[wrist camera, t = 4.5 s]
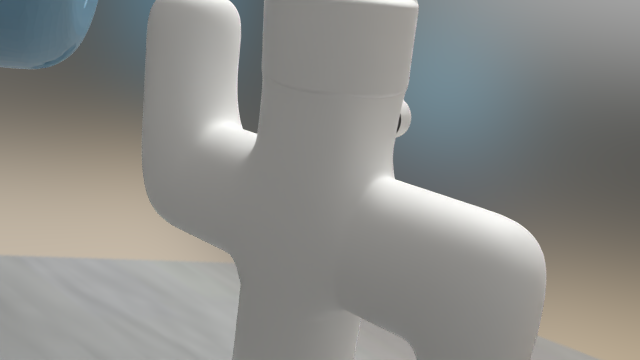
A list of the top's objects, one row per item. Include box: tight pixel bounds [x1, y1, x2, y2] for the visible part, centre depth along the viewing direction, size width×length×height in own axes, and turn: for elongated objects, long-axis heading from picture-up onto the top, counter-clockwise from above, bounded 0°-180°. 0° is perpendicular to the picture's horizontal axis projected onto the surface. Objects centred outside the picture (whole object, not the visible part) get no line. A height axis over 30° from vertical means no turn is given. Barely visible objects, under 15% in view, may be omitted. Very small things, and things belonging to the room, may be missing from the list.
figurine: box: [142, 0, 546, 360], centre depth 13 cm, size 7×9×15 cm
